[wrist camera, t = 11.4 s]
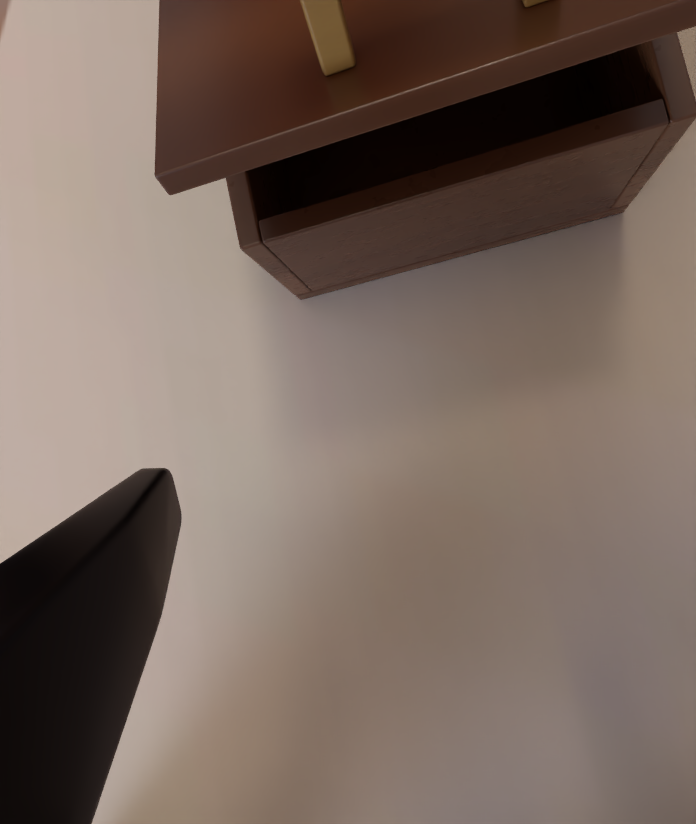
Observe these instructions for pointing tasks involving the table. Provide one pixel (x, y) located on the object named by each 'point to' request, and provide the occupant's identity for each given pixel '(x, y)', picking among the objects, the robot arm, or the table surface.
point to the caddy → (467, 173)
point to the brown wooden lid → (357, 67)
